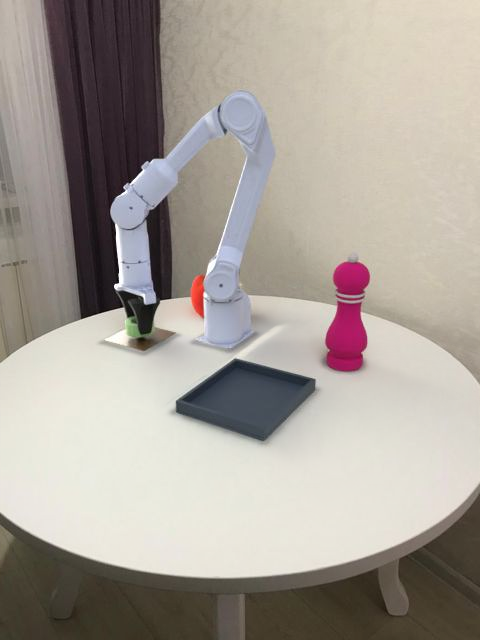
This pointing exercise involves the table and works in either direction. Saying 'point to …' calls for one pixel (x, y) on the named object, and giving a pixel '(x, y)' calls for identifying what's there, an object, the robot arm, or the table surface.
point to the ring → (135, 328)
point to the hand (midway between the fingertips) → (139, 328)
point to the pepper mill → (348, 316)
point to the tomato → (198, 294)
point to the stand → (140, 339)
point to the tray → (247, 398)
